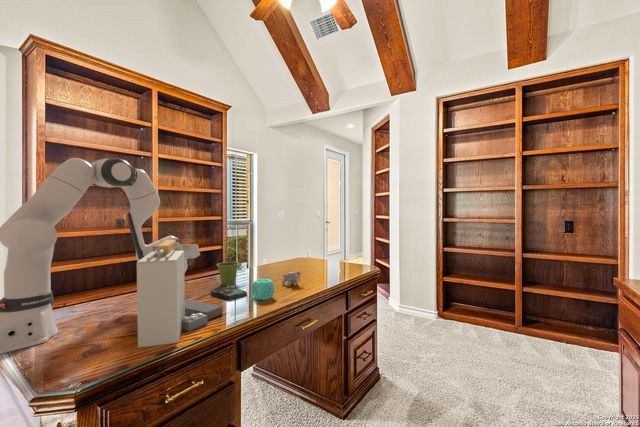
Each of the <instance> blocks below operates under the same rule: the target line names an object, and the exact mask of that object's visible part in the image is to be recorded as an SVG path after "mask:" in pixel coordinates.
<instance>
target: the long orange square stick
mask: <svg viewBox="0 0 640 427" xmlns="http://www.w3.org/2000/svg"><path fill="white" fill-rule="evenodd" d="M175 242H176V240H166V241H164V242H163V243H161V244H159V245H158V246H157V253H156V256H167V255H168V254H169V253H170V252H171V251H172V250H175V249H176V248H175V246H174V245H175Z"/></svg>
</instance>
